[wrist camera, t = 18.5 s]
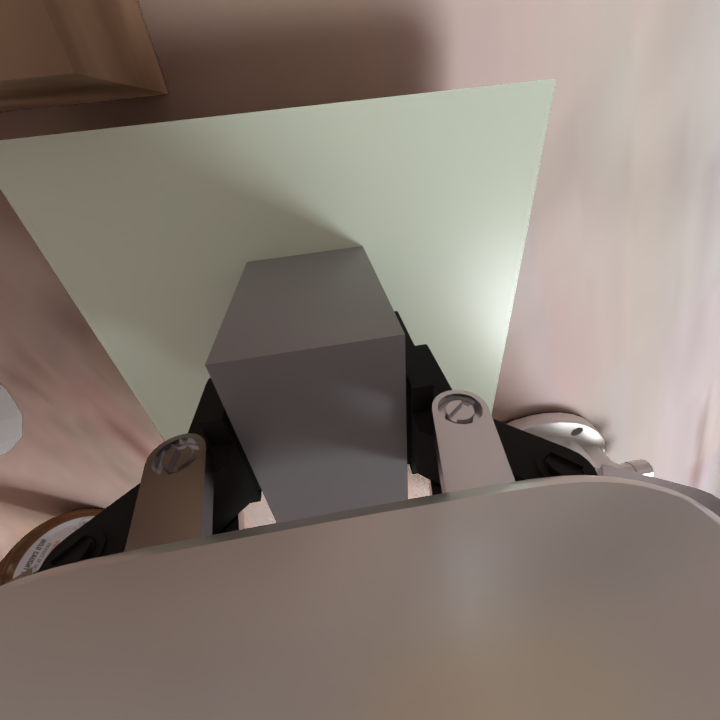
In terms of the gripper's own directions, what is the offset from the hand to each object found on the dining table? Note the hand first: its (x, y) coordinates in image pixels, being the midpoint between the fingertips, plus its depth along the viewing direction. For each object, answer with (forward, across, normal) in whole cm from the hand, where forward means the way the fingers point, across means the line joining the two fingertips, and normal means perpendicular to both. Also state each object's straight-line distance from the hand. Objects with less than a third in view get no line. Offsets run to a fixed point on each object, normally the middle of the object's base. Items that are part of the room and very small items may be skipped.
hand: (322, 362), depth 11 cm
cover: (+4, 0, 0) cm, 4 cm away
